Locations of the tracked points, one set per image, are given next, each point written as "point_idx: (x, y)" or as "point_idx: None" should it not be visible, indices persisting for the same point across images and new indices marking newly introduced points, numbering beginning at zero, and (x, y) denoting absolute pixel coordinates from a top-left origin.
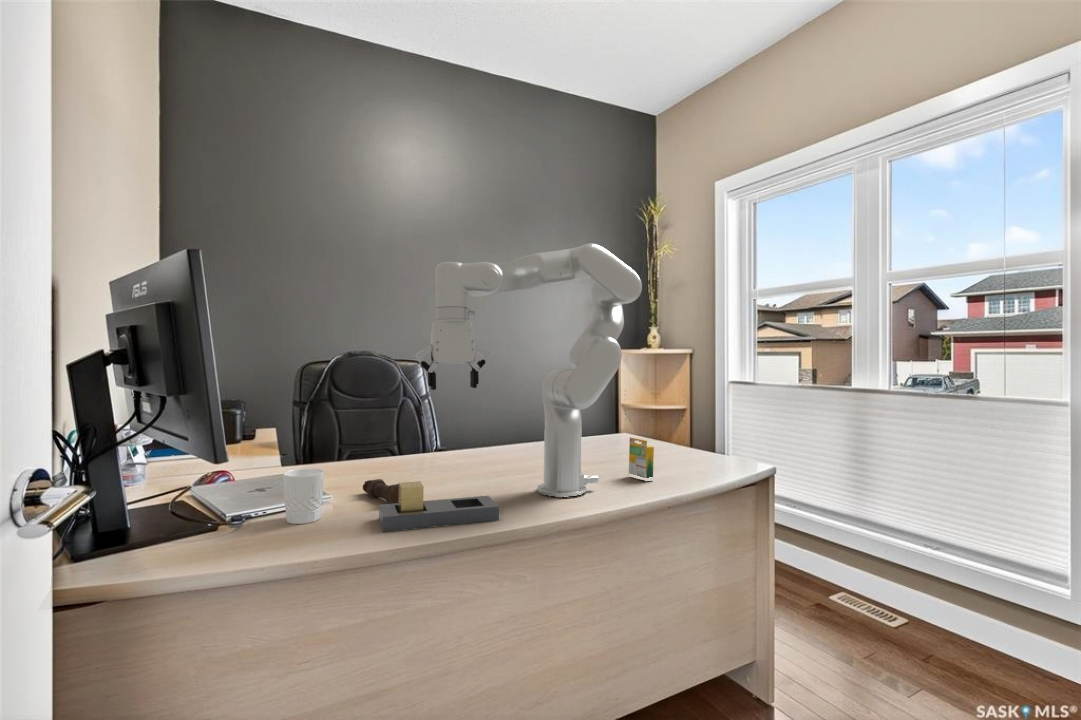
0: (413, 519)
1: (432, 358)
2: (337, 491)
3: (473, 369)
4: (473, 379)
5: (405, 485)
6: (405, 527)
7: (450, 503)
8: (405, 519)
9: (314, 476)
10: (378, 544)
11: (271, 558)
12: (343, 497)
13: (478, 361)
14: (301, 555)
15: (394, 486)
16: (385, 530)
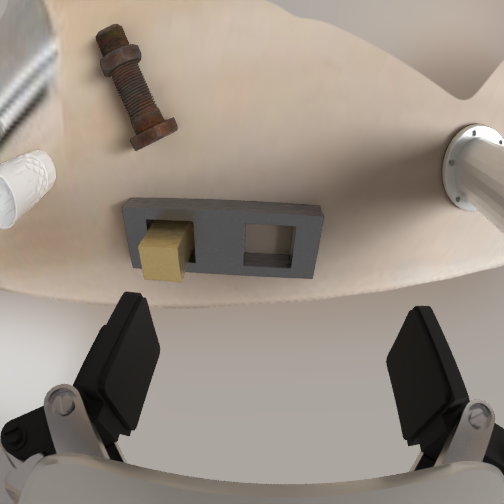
0: None
1: (37, 484)
2: (68, 15)
3: (420, 447)
4: (396, 398)
5: (150, 267)
6: None
7: (240, 239)
8: None
9: (14, 223)
10: (139, 289)
11: (54, 284)
12: (74, 56)
13: (496, 466)
14: (74, 288)
15: (139, 148)
16: None
